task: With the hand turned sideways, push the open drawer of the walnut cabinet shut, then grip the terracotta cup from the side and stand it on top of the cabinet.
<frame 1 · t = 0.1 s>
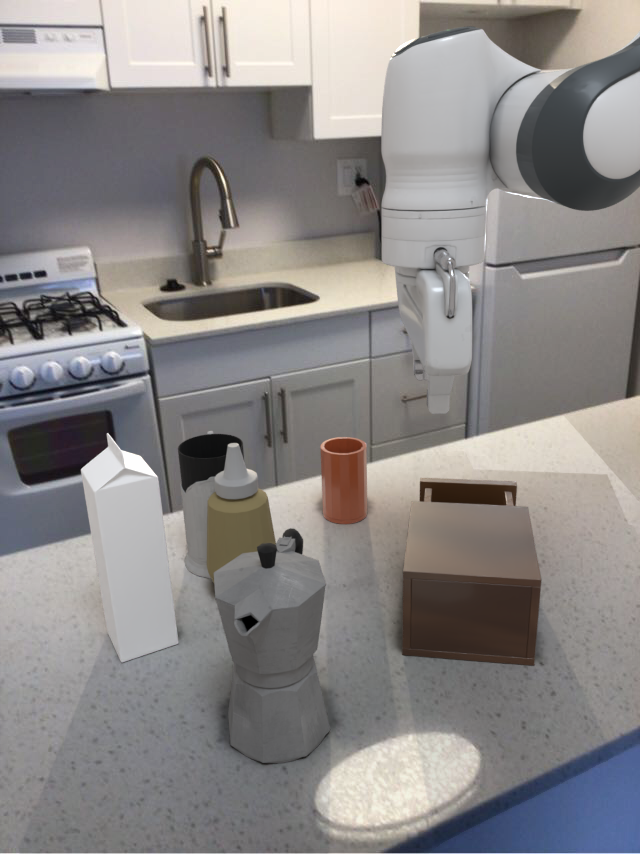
hand: (430, 393, 70), 25 cm above the worktop, tool pointing down, fingers open, 8 cm apart
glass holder: (220, 548, 95), on the worktop, touching squeeze bottle
squeeze bottle: (245, 592, 86), on the worktop, touching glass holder
drawer: (467, 526, 88), point 5 cm above the worktop, slide at 7.0 cm
milk: (142, 639, 79), on the worktop
cabinet: (466, 615, 80), on the worktop
coffeepot: (282, 718, 67), on the worktop
cup: (345, 513, 103), on the worktop
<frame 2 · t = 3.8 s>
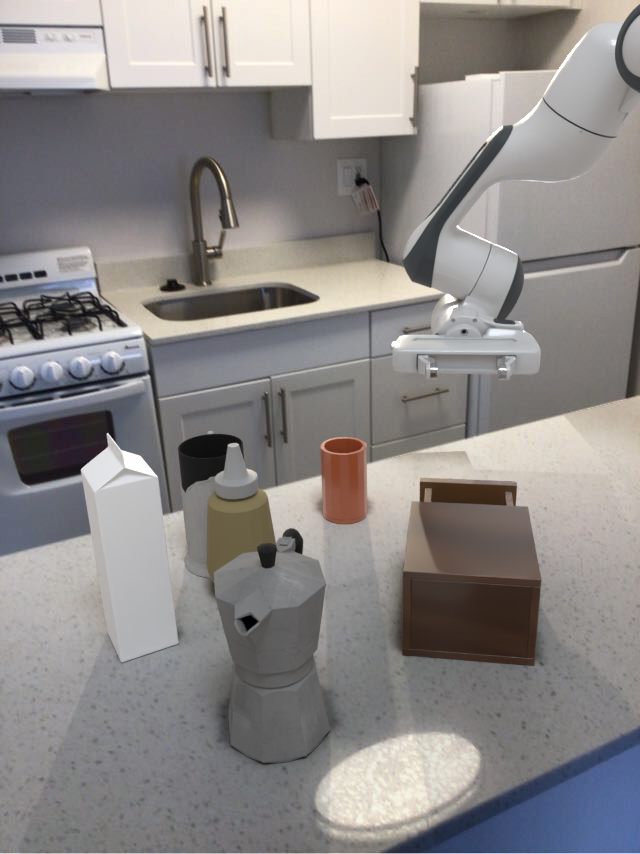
hand: (468, 374, 99), 18 cm above the worktop, tool horizontal, fingers open, 8 cm apart
nothing on the worktop moved.
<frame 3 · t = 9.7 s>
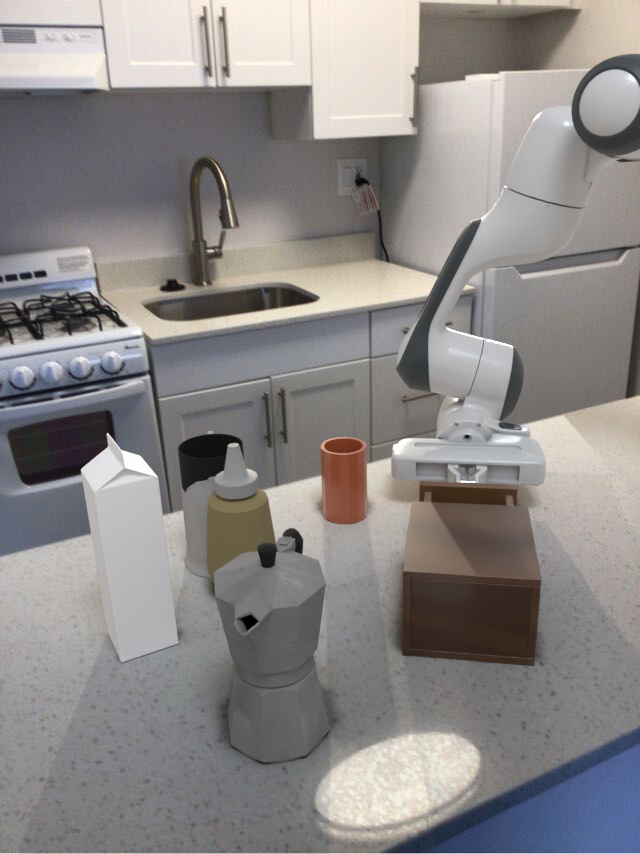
hand: (467, 487, 95), 6 cm above the worktop, tool horizontal, fingers closed, pressing on drawer
drawer: (467, 530, 87), point 5 cm above the worktop, slide at 6.0 cm, touching gripper
everything else where it was.
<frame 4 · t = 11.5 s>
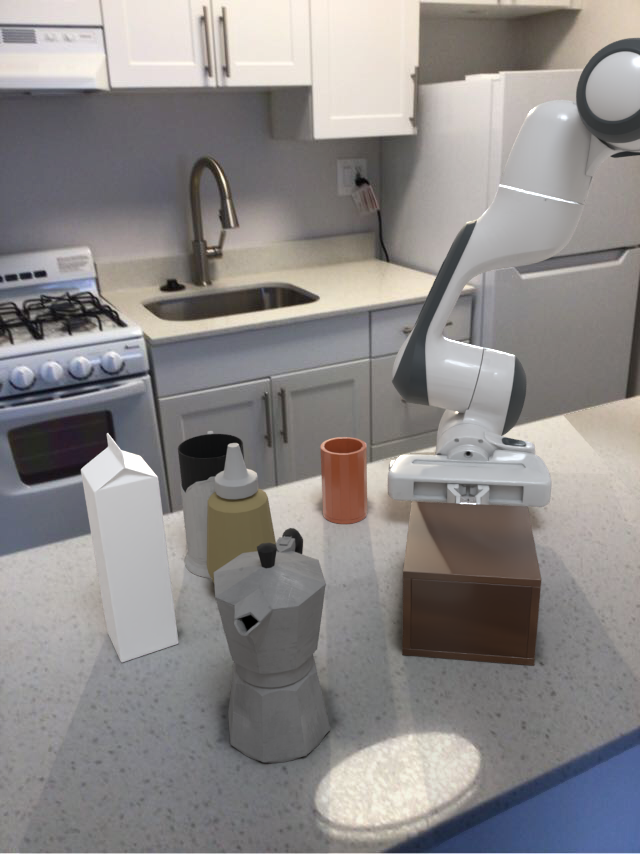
hand: (467, 509, 90), 6 cm above the worktop, tool horizontal, fingers closed, pressing on drawer
drawer: (467, 557, 82), point 5 cm above the worktop, slide at 0.0 cm, touching cabinet, gripper
everything else where it was.
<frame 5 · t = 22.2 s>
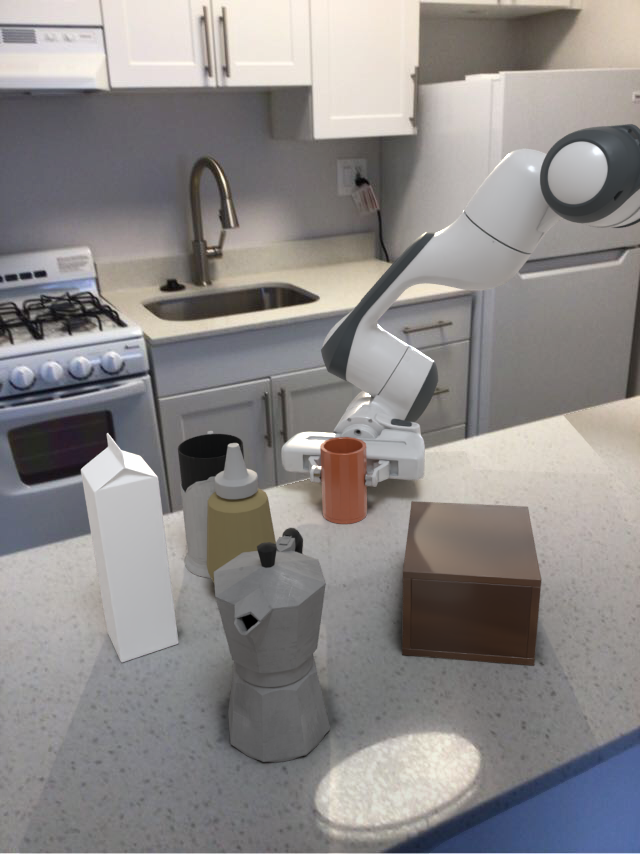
hand: (342, 479, 100), 6 cm above the worktop, tool horizontal, fingers closed on cup, 6 cm apart
drawer: (467, 557, 82), point 5 cm above the worktop, slide at 0.0 cm
cup: (344, 513, 103), on the worktop, touching gripper
everything else where it was.
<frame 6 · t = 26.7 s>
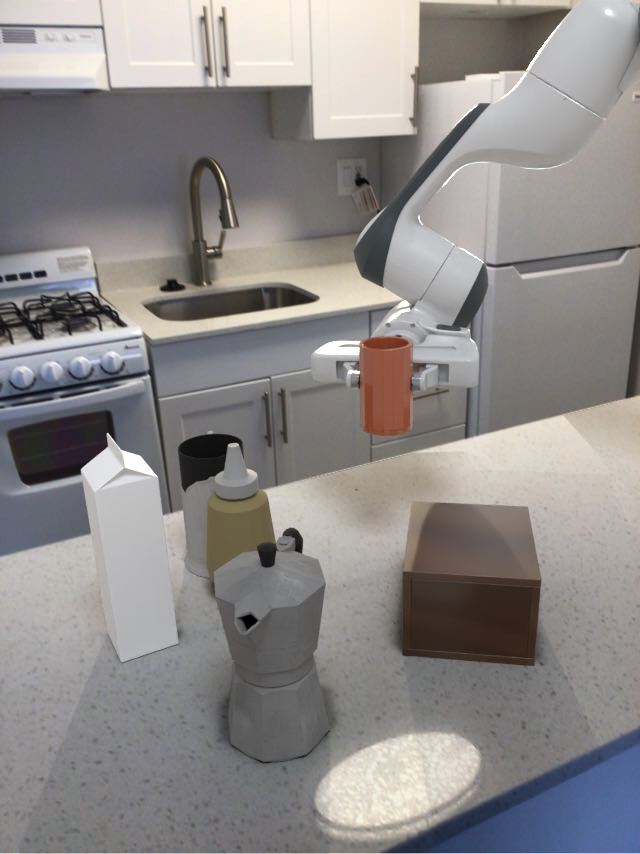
hand: (385, 383, 85), 22 cm above the worktop, tool horizontal, fingers closed on cup, 6 cm apart
cup: (386, 426, 88), point 16 cm above the worktop, touching gripper
everything else where it was.
when the fingers open (15 cm above the worktop, at t = 31.3 s): cup stays where it is, resting on cabinet.
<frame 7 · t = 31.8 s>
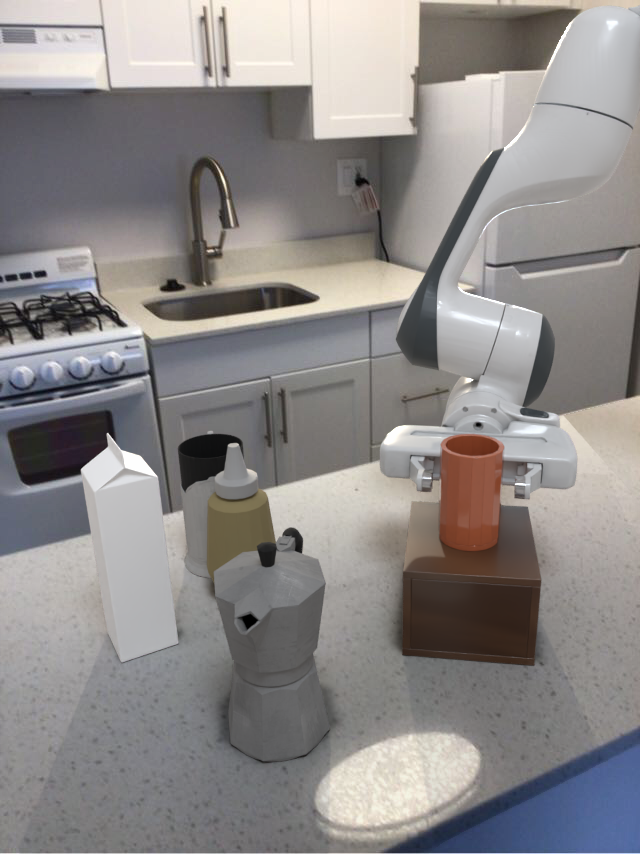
hand: (472, 488, 74), 15 cm above the worktop, tool horizontal, fingers open, 8 cm apart
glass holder: (220, 548, 95), on the worktop
squeeze bottle: (245, 592, 86), on the worktop
cup: (468, 536, 77), point 10 cm above the worktop, touching cabinet
everything else where it was.
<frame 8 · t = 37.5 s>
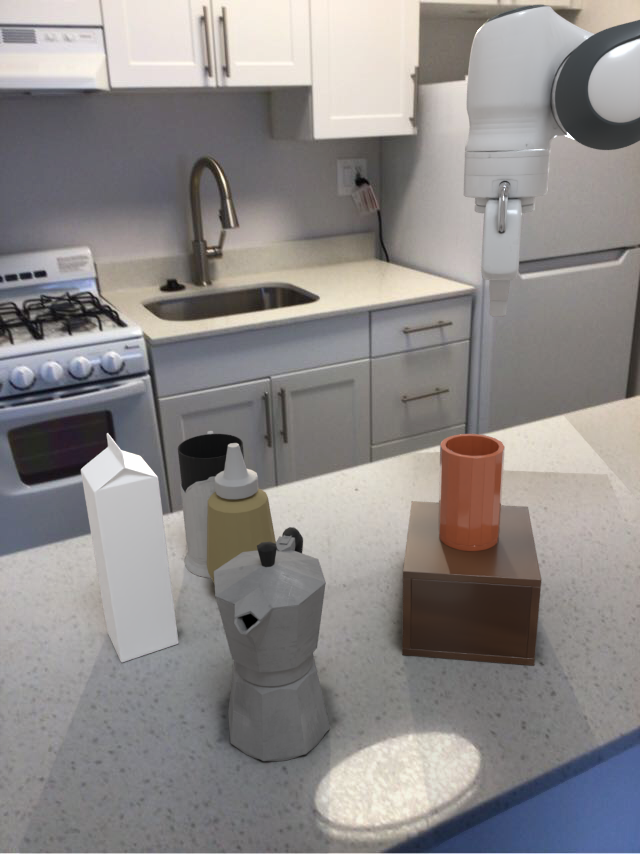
hand: (499, 306, 86), 29 cm above the worktop, tool pointing down, fingers open, 8 cm apart
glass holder: (220, 548, 95), on the worktop, touching squeeze bottle
squeeze bottle: (245, 592, 86), on the worktop, touching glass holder
everything else where it was.
at the end: drawer slide at 0.0 cm; cup inside the target area on the cabinet (0.2 cm from its centre), point 9.6 cm above the cabinet's base; cup tilted 0° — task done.
